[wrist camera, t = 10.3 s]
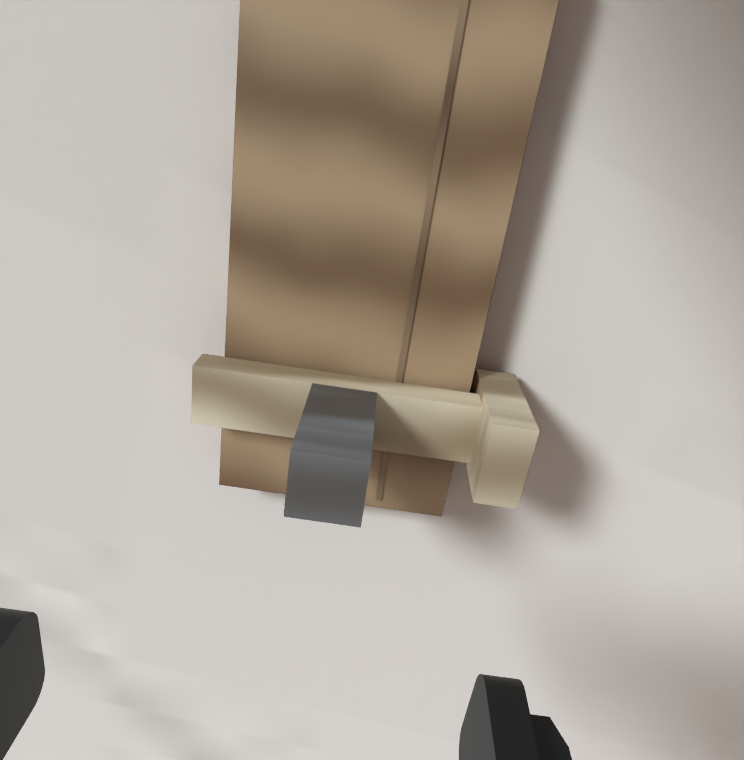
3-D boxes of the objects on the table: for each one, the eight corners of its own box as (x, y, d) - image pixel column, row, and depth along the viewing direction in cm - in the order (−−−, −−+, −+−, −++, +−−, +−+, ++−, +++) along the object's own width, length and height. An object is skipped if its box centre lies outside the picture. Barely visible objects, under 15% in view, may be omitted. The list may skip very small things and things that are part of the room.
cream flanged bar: (214, 330, 31) (140, 416, 22) (514, 374, 31) (559, 476, 22) (212, 400, 32) (142, 506, 23) (497, 441, 32) (532, 562, 24)
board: (257, -101, 24) (244, -120, 22) (560, -53, 24) (574, -68, 22) (229, 464, 34) (218, 485, 32) (439, 494, 34) (441, 517, 32)
